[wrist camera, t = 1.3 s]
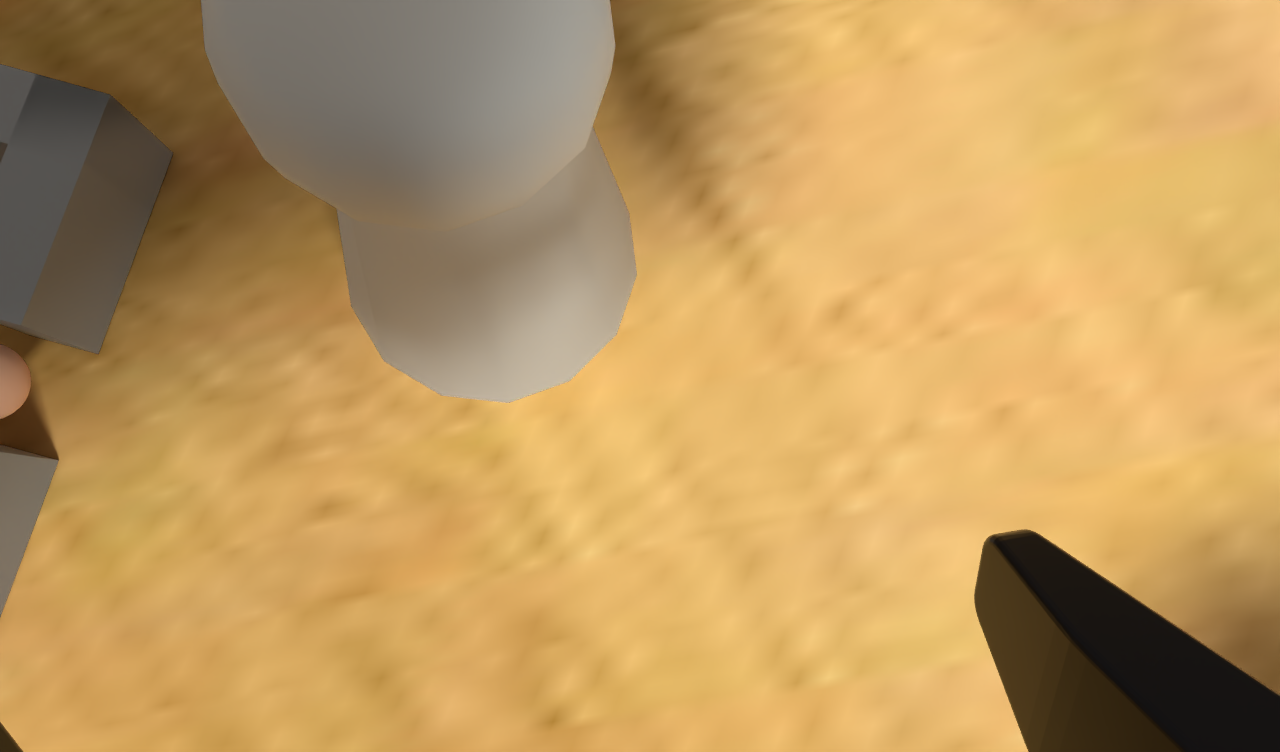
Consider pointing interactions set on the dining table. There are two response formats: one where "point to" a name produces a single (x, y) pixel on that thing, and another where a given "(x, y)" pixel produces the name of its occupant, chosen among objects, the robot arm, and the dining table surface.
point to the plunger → (12, 381)
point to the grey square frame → (63, 243)
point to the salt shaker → (447, 172)
